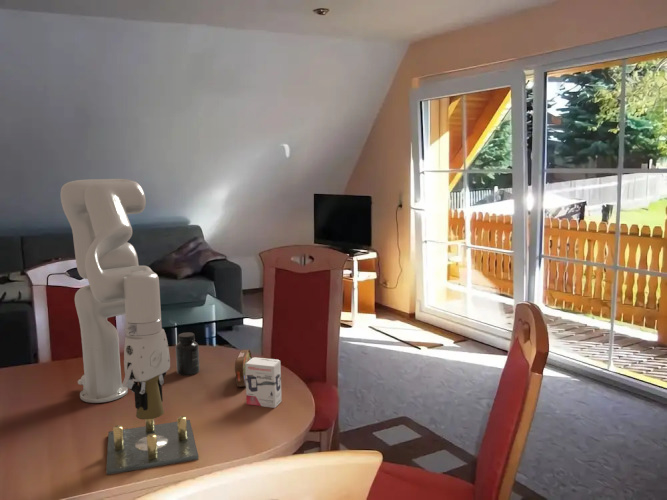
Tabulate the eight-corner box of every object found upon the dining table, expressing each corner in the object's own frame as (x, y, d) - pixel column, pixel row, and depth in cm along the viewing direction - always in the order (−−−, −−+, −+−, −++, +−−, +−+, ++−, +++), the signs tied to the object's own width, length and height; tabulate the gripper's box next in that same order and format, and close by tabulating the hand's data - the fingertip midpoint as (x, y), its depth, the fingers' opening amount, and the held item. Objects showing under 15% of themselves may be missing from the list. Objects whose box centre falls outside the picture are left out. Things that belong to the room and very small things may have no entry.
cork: (148, 421, 134) (145, 374, 132) (130, 415, 137) (127, 369, 135) (169, 411, 139) (166, 365, 137) (151, 406, 142) (148, 361, 140)
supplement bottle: (196, 366, 191) (195, 330, 189) (202, 373, 185) (200, 336, 183) (174, 370, 189) (172, 333, 187) (179, 377, 182) (177, 339, 180)
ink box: (245, 404, 162) (244, 362, 160) (253, 397, 167) (252, 356, 165) (275, 408, 160) (274, 365, 158) (282, 401, 164) (281, 359, 162)
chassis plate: (106, 474, 127) (104, 448, 126) (108, 435, 145) (107, 412, 144) (198, 459, 133) (197, 433, 132) (189, 423, 151) (188, 400, 150)
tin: (245, 391, 172) (244, 362, 170) (234, 391, 172) (233, 362, 170) (253, 372, 186) (252, 345, 185) (243, 372, 187) (242, 345, 185)
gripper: (129, 339, 126) (134, 422, 129) (182, 319, 141) (186, 394, 143) (102, 335, 129) (108, 416, 132) (157, 316, 144) (161, 389, 147)
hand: (149, 404), depth 138 cm, fingers closed on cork, 4 cm apart
